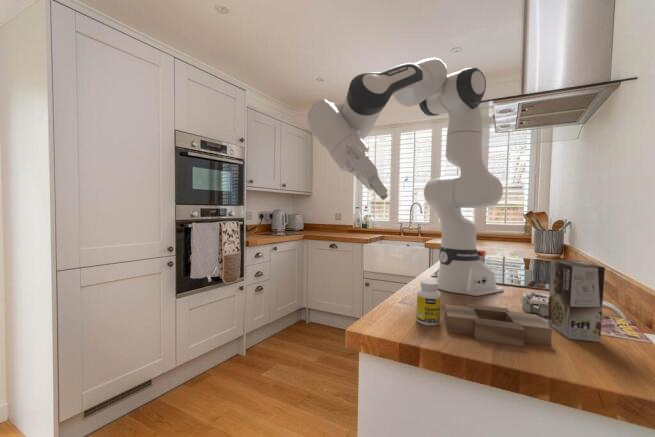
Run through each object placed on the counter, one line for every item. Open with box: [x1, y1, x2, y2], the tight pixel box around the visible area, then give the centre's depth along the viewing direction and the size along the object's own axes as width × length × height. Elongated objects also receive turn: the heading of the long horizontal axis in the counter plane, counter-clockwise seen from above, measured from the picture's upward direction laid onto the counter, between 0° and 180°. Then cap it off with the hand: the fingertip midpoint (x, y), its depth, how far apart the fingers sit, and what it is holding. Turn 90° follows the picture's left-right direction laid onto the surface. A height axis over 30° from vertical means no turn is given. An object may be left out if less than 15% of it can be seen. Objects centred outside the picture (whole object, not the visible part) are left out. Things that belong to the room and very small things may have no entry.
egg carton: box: [520, 292, 549, 317], centre depth 85 cm, size 11×8×4 cm
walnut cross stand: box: [443, 303, 553, 347], centre depth 70 cm, size 14×20×4 cm
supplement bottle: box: [415, 279, 442, 326], centre depth 74 cm, size 5×5×10 cm
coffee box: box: [547, 259, 606, 343], centre depth 69 cm, size 9×6×16 cm
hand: (385, 196), depth 76 cm, fingers open, 8 cm apart
